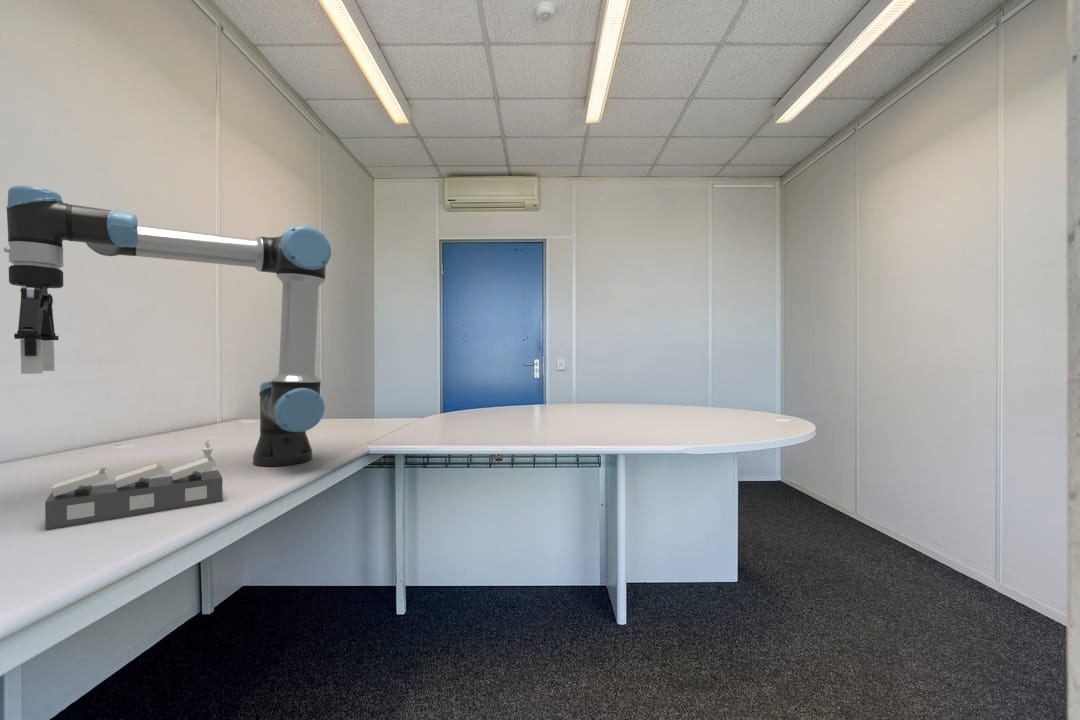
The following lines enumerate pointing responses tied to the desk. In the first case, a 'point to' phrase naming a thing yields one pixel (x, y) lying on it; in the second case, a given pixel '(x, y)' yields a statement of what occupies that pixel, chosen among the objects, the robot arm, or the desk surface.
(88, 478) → the rocker
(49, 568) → the desk surface
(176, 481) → the rocker switch box
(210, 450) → the chess piece
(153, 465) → the rocker
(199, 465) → the rocker
